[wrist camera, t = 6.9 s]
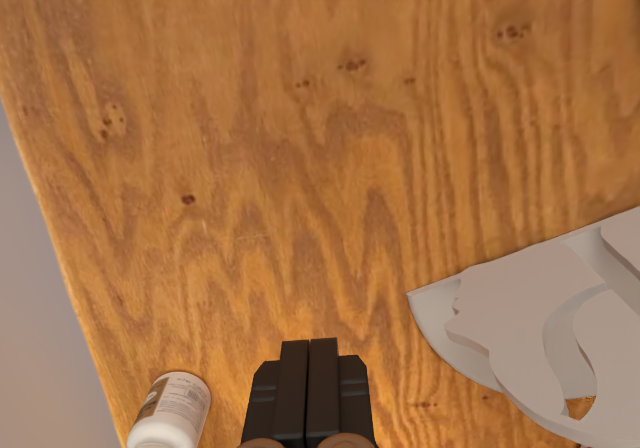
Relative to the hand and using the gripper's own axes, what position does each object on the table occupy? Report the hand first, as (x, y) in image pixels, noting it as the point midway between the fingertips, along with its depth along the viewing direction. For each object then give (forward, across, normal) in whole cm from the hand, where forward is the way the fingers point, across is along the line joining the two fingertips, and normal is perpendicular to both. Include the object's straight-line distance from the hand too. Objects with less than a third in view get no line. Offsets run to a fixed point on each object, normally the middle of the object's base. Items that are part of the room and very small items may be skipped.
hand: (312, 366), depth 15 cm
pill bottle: (+19, +12, +16) cm, 27 cm away
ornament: (+19, -17, +11) cm, 28 cm away
